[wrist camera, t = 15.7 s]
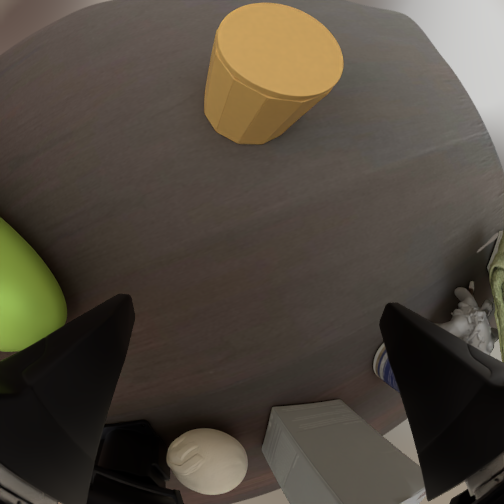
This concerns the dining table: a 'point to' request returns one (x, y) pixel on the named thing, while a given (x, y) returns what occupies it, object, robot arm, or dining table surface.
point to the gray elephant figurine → (472, 322)
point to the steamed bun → (207, 461)
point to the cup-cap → (268, 71)
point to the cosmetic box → (337, 458)
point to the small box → (495, 249)
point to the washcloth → (498, 291)
